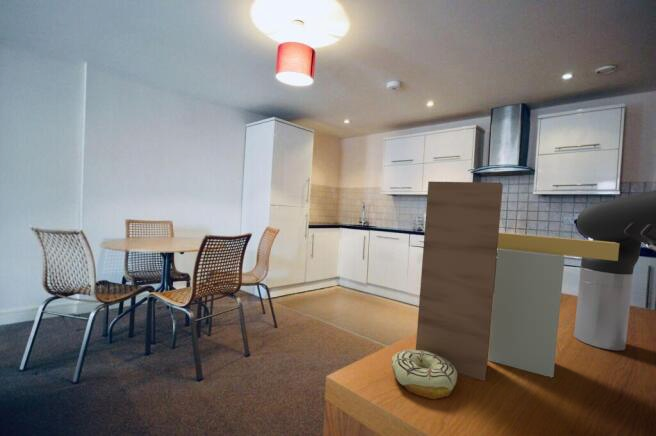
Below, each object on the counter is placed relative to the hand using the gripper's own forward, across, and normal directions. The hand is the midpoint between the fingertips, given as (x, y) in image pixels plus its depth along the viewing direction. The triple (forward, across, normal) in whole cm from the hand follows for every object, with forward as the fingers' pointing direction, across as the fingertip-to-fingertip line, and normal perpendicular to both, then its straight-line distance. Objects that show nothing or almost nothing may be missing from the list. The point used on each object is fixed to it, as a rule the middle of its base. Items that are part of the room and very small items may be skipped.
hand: (635, 227), depth 54 cm
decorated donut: (+11, +19, +39) cm, 45 cm away
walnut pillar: (+9, +9, +37) cm, 39 cm away
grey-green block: (-1, 0, +32) cm, 32 cm away
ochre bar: (+8, 0, +11) cm, 14 cm away
